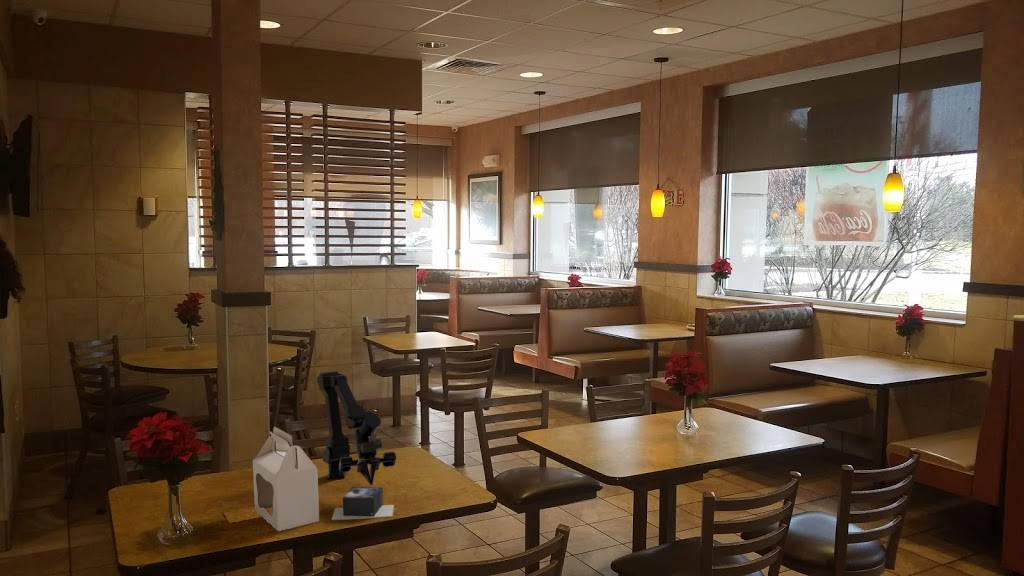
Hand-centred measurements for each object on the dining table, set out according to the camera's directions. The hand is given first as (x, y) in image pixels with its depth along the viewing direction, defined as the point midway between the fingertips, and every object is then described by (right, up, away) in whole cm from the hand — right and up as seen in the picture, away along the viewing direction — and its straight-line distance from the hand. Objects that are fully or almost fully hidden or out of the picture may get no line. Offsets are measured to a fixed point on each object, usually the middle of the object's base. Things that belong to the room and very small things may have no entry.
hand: (371, 484), depth 252 cm
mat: (-1, -8, -6) cm, 10 cm away
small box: (-1, -4, 0) cm, 4 cm away
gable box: (-26, -8, -8) cm, 28 cm away
